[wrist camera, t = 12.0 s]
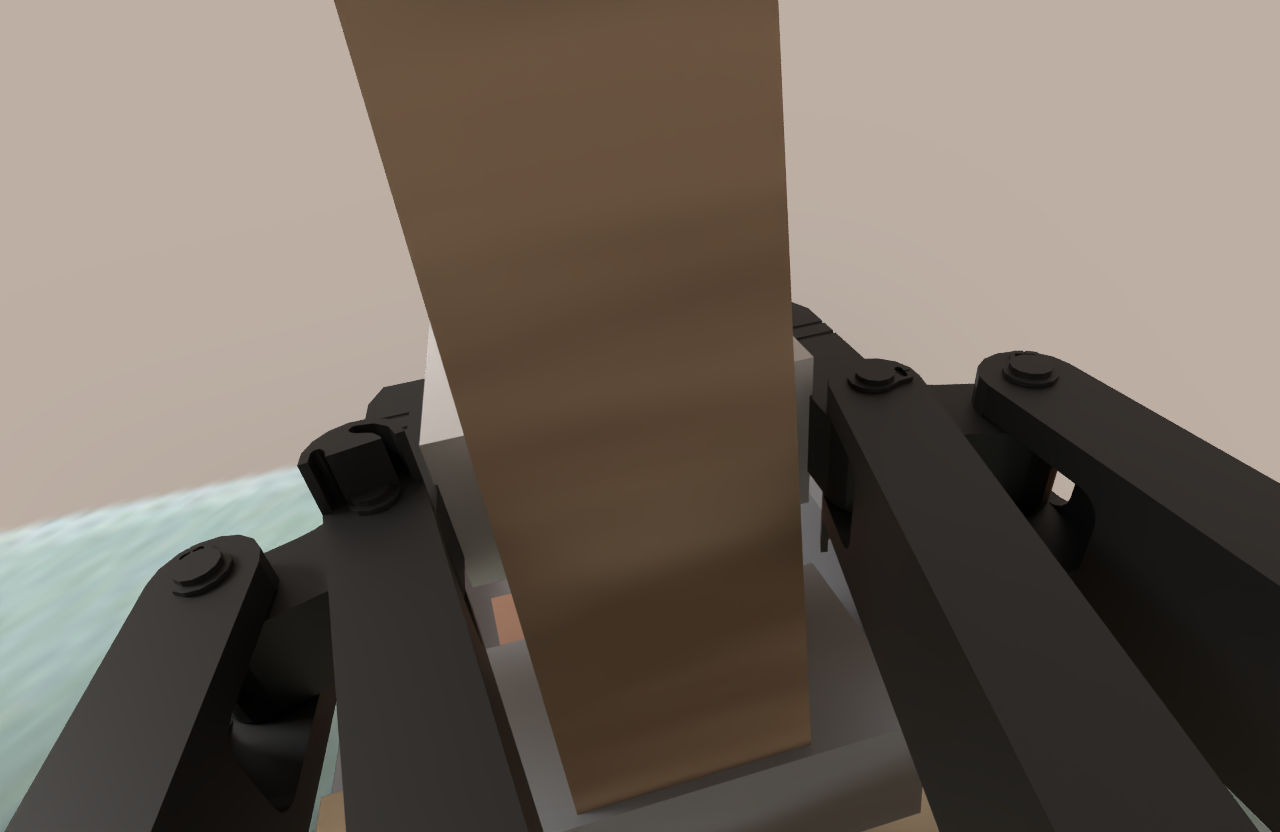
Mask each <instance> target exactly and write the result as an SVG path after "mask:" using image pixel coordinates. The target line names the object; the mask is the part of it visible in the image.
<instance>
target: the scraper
mask: <svg viewBox="0 0 1280 832" xmlns="http://www.w3.org/2000/svg"><path fill="white" fill-rule="evenodd" d="M334 2H335V5H336V9H337V12H338V15H339V19H340V22H341V25H342V28H343V32H344V35H345V39H346V42H347V45H348V49H349V52H350V55H351V59H352V62H353V66H354V69H355V72H356V76H357V79H358V82H359V86H360V89H361V92H362V96H363V99H364V102H365V106H366V109H367V112H368V116H369V119H370V122H371V126H372V129H373V133H374V136H375V139H376V143H377V146H378V149H379V153H380V156H381V159H382V163H383V166H384V169H385V173H386V176H387V179H388V182H389V186H390V189H391V193H392V196H393V199H394V203H395V206H396V209H397V213H398V216H399V219H400V223H401V226H402V229H403V233H404V236H405V239H406V243H407V246H408V249H409V253H410V256H411V260H412V263H413V266H414V269H415V273H416V276H417V280H418V283H419V286H420V290H421V293H422V296H423V300H424V303H425V307H426V310H427V313H428V317H429V320H430V323H431V327H432V330H433V333H434V337H435V340H436V343H437V347H438V350H439V353H440V357H441V360H442V364H443V367H444V370H445V374H446V377H447V380H448V384H449V387H450V390H451V394H452V397H453V400H454V404H455V407H456V410H457V414H458V417H459V420H460V424H461V427H462V430H463V434H464V437H465V440H466V444H467V447H468V451H469V454H470V457H471V461H472V464H473V467H474V471H475V474H476V477H477V481H478V484H479V487H480V491H481V494H482V497H483V501H484V504H485V507H486V511H487V514H488V517H489V521H490V524H491V528H492V531H493V534H494V538H495V541H496V544H497V548H498V551H499V554H500V558H501V561H502V564H503V568H504V571H505V574H506V578H507V581H508V584H509V588H510V591H511V594H512V598H513V601H514V605H515V608H516V611H517V615H518V618H519V621H520V625H521V628H522V631H523V635H524V638H525V639H523V640H519V641H515V642H511V643H507V644H504V645H500V646H496V647H492V648H489V649H486V651H487V654H488V657H489V661H490V664H491V667H492V670H493V673H494V676H495V680H496V683H497V686H498V689H499V692H500V695H501V699H502V702H503V705H504V708H505V711H506V714H507V717H508V721H509V724H510V727H511V730H512V733H513V736H514V740H515V743H516V746H517V749H518V752H519V755H520V758H521V762H522V765H523V768H524V771H525V774H526V777H527V781H528V784H529V787H530V790H531V793H532V796H533V800H534V803H535V806H536V809H537V812H538V815H539V818H540V822H541V825H542V828H543V831H544V832H863V831H866V830H869V829H872V828H875V827H878V826H881V825H884V824H887V823H890V822H893V821H897V820H900V819H903V818H906V817H909V816H912V815H915V814H918V813H921V800H922V784H921V781H920V779H919V776H918V773H917V770H916V768H915V765H914V762H913V760H912V757H911V754H910V752H909V749H908V746H907V744H906V741H905V738H904V736H903V733H902V730H901V728H900V725H899V722H898V719H897V717H896V714H895V711H894V709H893V706H892V703H891V701H890V698H889V695H888V693H887V690H886V687H885V685H884V682H883V679H882V677H881V674H880V671H879V668H878V666H877V663H876V660H875V658H874V655H873V652H872V650H871V647H870V644H869V642H868V639H867V637H866V636H865V634H864V633H863V632H862V630H861V629H860V628H859V626H858V625H857V623H856V622H855V621H854V619H853V618H852V617H851V615H850V614H849V612H848V611H847V610H846V608H845V607H844V606H843V604H842V603H841V601H840V600H839V599H838V597H837V596H836V595H835V593H834V592H833V590H832V589H831V588H830V586H829V585H828V583H827V582H826V581H825V579H824V578H823V577H822V575H821V574H820V572H819V571H818V570H817V568H816V567H815V566H814V564H813V563H809V564H806V565H803V551H802V528H801V506H800V483H799V461H798V438H797V415H796V393H795V370H794V348H793V325H792V302H791V282H790V281H791V280H790V259H789V258H790V257H789V235H788V213H787V191H786V168H785V147H784V146H785V145H784V122H783V101H782V100H783V99H782V76H781V54H780V32H779V9H778V0H334Z"/></svg>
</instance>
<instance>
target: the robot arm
mask: <svg viewBox="0 0 1280 832" xmlns="http://www.w3.org/2000/svg"><path fill="white" fill-rule="evenodd" d="M792 325H793V348H794V370H795V393H796V415H797V438H798V461H799V483H800V504H804V503H808V502H809V480H810V475H811V477H812V478H813V479H814V481H815V482H816V483H817V485H818V486H819V488H820V489H821V490H822V510H821V531H820V550H821V552H828V540H829V539H830V540H831V542H832V545H833V548H834V550H835V553H836V556H837V558H838V561H839V564H840V566H841V569H842V572H843V575H844V577H845V580H846V583H847V585H848V588H849V591H850V593H851V596H852V599H853V601H854V604H855V607H856V609H857V612H858V615H859V617H860V620H861V623H862V626H863V628H864V631H865V634H866V636H867V639H868V642H869V644H870V647H871V650H872V652H873V655H874V658H875V660H876V663H877V666H878V668H879V671H880V674H881V677H882V679H883V682H884V685H885V687H886V690H887V693H888V695H889V698H890V701H891V703H892V706H893V709H894V711H895V714H896V717H897V719H898V722H899V725H900V728H901V730H902V733H903V736H904V738H905V741H906V744H907V746H908V749H909V752H910V754H911V757H912V760H913V762H914V765H915V768H916V770H917V773H918V776H919V779H920V781H921V784H922V787H923V789H924V792H925V795H926V797H927V800H928V803H929V805H930V808H931V811H932V813H933V816H934V819H935V821H936V824H937V827H938V830H939V832H1259V831H1258V829H1257V828H1256V827H1255V825H1254V824H1253V823H1252V821H1251V820H1250V819H1249V817H1248V816H1247V815H1246V813H1245V812H1244V811H1243V809H1242V808H1241V807H1240V805H1239V804H1238V803H1237V801H1236V800H1235V799H1234V797H1233V796H1232V794H1231V793H1230V792H1229V790H1230V791H1231V792H1233V793H1234V794H1235V795H1236V796H1237V797H1238V798H1239V799H1240V800H1241V801H1242V802H1243V803H1244V804H1245V805H1246V806H1247V807H1248V808H1249V809H1250V810H1251V811H1252V812H1253V813H1254V814H1255V815H1256V816H1257V817H1258V818H1259V819H1260V820H1261V821H1262V822H1263V823H1264V824H1265V825H1266V826H1267V827H1268V828H1269V829H1270V830H1271V831H1272V832H1280V483H1278V482H1276V481H1274V480H1273V479H1271V478H1269V477H1268V476H1266V475H1264V474H1262V473H1260V472H1259V471H1257V470H1255V469H1253V468H1252V467H1250V466H1248V465H1246V464H1245V463H1243V462H1241V461H1239V460H1238V459H1236V458H1234V457H1232V456H1231V455H1229V454H1227V453H1225V452H1224V451H1222V450H1220V449H1218V448H1216V447H1215V446H1213V445H1211V444H1210V443H1208V442H1206V441H1204V440H1202V439H1201V438H1199V437H1197V436H1195V435H1194V434H1192V433H1190V432H1188V431H1187V430H1185V429H1183V428H1181V427H1180V426H1178V425H1176V424H1174V423H1173V422H1171V421H1169V420H1167V419H1166V418H1164V417H1162V416H1160V415H1158V414H1157V413H1155V412H1153V411H1152V410H1150V409H1148V408H1146V407H1145V406H1143V405H1141V404H1139V403H1138V402H1136V401H1134V400H1132V399H1131V398H1129V397H1127V396H1125V395H1124V394H1122V393H1120V392H1118V391H1116V390H1115V389H1113V388H1111V387H1109V386H1107V385H1106V384H1104V383H1102V382H1101V381H1099V380H1097V379H1095V378H1094V377H1092V376H1090V375H1088V374H1087V373H1085V372H1083V371H1081V370H1080V369H1078V368H1076V367H1074V366H1072V365H1071V364H1069V363H1066V362H1064V361H1062V360H1060V359H1057V358H1055V357H1052V356H1048V355H1043V354H1039V353H1037V352H1032V351H1025V352H1023V351H1012V352H1005V353H998V354H995V355H993V356H990V357H988V358H985V359H984V360H983V361H982V362H981V363H980V365H979V366H978V368H977V374H976V379H975V384H952V385H926V383H925V382H924V381H923V379H922V378H921V377H920V376H919V375H918V374H917V373H916V372H915V371H914V370H912V369H911V368H910V367H908V366H905V365H903V364H900V363H898V362H895V361H889V360H884V359H864V358H863V357H862V356H861V355H860V354H858V353H857V352H856V351H855V350H854V349H853V348H852V347H851V346H850V345H849V344H847V343H846V342H845V341H844V340H843V339H842V338H841V337H840V336H838V335H837V334H836V333H833V330H832V329H831V328H830V327H828V326H827V325H826V324H825V323H822V320H821V319H820V318H818V317H817V316H816V315H815V314H814V313H813V312H812V311H811V310H809V309H808V308H806V307H803V306H801V305H798V304H795V303H793V302H792ZM297 466H298V468H299V470H300V472H301V474H302V476H303V478H304V480H305V482H306V484H307V486H308V488H309V490H310V492H311V494H312V495H313V497H314V499H315V501H316V503H317V505H318V507H319V509H320V511H321V513H322V515H323V524H322V525H321V526H319V527H318V528H316V529H315V530H313V531H311V532H309V533H307V534H305V535H303V536H301V537H299V538H297V539H295V540H293V541H290V542H288V543H286V544H284V545H281V546H279V547H277V548H275V549H272V550H270V551H268V552H266V553H263V551H262V550H261V548H260V547H259V545H258V544H257V543H256V541H255V540H254V539H253V538H249V537H246V536H242V535H231V536H221V537H217V538H214V539H211V540H208V541H205V542H202V543H199V544H197V545H194V546H192V547H191V548H189V549H186V550H185V551H183V552H181V553H179V554H178V555H177V556H175V557H174V558H173V559H172V560H170V561H169V562H168V563H166V564H165V565H164V566H163V567H161V568H160V569H159V570H158V571H157V572H156V574H155V575H154V576H153V577H152V578H151V580H150V581H149V582H148V583H147V585H146V586H145V588H144V589H143V591H142V593H141V595H140V596H139V598H138V600H137V602H136V603H135V605H134V607H133V609H132V610H131V612H130V614H129V616H128V617H127V619H126V621H125V623H124V624H123V626H122V628H121V630H120V631H119V633H118V635H117V637H116V638H115V640H114V642H113V643H112V645H111V647H110V649H109V650H108V652H107V654H106V656H105V657H104V659H103V661H102V663H101V664H100V666H99V668H98V670H97V671H96V673H95V675H94V677H93V678H92V680H91V682H90V684H89V685H88V687H87V689H86V691H85V692H84V694H83V696H82V697H81V699H80V701H79V703H78V704H77V706H76V708H75V710H74V711H73V713H72V715H71V717H70V718H69V720H68V722H67V724H66V725H65V727H64V729H63V731H62V732H61V734H60V736H59V738H58V739H57V741H56V743H55V745H54V746H53V748H52V750H51V752H50V753H49V755H48V757H47V758H46V760H45V762H44V764H43V765H42V767H41V769H40V771H39V772H38V774H37V776H36V778H35V779H34V781H33V783H32V785H31V786H30V788H29V790H28V792H27V793H26V795H25V797H24V799H23V800H22V802H21V804H20V806H19V807H18V809H17V811H16V813H15V814H14V816H13V818H12V819H11V821H10V823H9V825H8V826H7V828H6V830H5V832H309V827H310V822H311V818H312V813H313V808H314V803H315V799H316V794H317V789H318V785H319V780H320V775H321V771H322V766H323V761H324V756H325V752H326V747H327V742H328V738H329V733H330V728H331V724H332V719H333V714H334V709H335V705H336V703H337V717H338V730H339V744H340V757H341V771H342V784H343V798H344V812H345V825H346V832H544V831H543V828H542V825H541V822H540V818H539V815H538V812H537V809H536V806H535V803H534V800H533V796H532V793H531V790H530V787H529V784H528V781H527V777H526V774H525V771H524V768H523V765H522V762H521V758H520V755H519V752H518V749H517V746H516V743H515V740H514V736H513V733H512V730H511V727H510V724H509V721H508V717H507V714H506V711H505V708H504V705H503V702H502V699H501V695H500V692H499V689H498V686H497V683H496V680H495V676H494V673H493V670H492V667H491V664H490V661H489V657H488V654H487V651H486V648H485V645H484V642H483V639H482V635H481V632H480V629H479V626H478V623H477V620H476V616H475V613H474V610H473V607H472V605H471V602H470V599H469V597H468V594H467V592H466V589H465V568H466V571H467V574H468V576H469V579H470V582H471V584H472V587H476V586H480V585H484V584H488V583H492V582H496V581H500V580H504V579H507V578H506V574H505V571H504V568H503V564H502V561H501V558H500V554H499V551H498V548H497V544H496V541H495V538H494V534H493V531H492V528H491V524H490V521H489V517H488V514H487V511H486V507H485V504H484V501H483V497H482V494H481V491H480V487H479V484H478V481H477V477H476V474H475V471H474V467H473V464H472V461H471V457H470V454H469V451H468V447H467V444H466V440H465V437H464V434H463V430H462V427H461V424H460V420H459V417H458V414H457V410H456V407H455V404H454V400H453V397H452V394H451V390H450V387H449V384H448V380H447V377H446V374H445V370H444V367H443V364H442V360H441V357H440V353H439V350H438V347H437V343H436V340H435V337H434V333H433V330H432V327H431V323H430V326H429V337H428V349H427V361H426V372H425V379H421V380H416V381H412V382H407V383H403V384H398V385H393V386H388V387H383V389H382V390H381V391H380V392H379V393H378V394H377V395H376V397H375V398H374V399H373V400H372V401H371V402H370V403H369V405H368V409H367V413H366V418H365V419H364V420H360V421H356V422H351V423H347V424H345V425H342V426H340V427H338V428H335V429H333V430H330V431H328V432H327V433H325V434H324V435H322V436H321V437H319V438H317V439H316V440H314V441H313V442H312V443H311V444H310V445H309V446H308V447H307V448H306V449H305V450H304V451H303V452H302V453H301V456H300V459H299V462H298V465H297ZM1057 471H1059V472H1060V473H1061V474H1063V475H1064V476H1065V477H1067V478H1068V479H1069V480H1071V481H1072V482H1074V483H1075V486H1074V490H1073V492H1072V496H1071V498H1070V500H1069V501H1066V500H1064V499H1062V498H1060V497H1059V496H1058V495H1056V494H1055V493H1054V492H1052V491H1051V490H1052V487H1053V483H1054V480H1055V477H1056V473H1057ZM1226 787H1227V788H1228V789H1229V790H1228V789H1227V788H1226Z"/></svg>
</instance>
